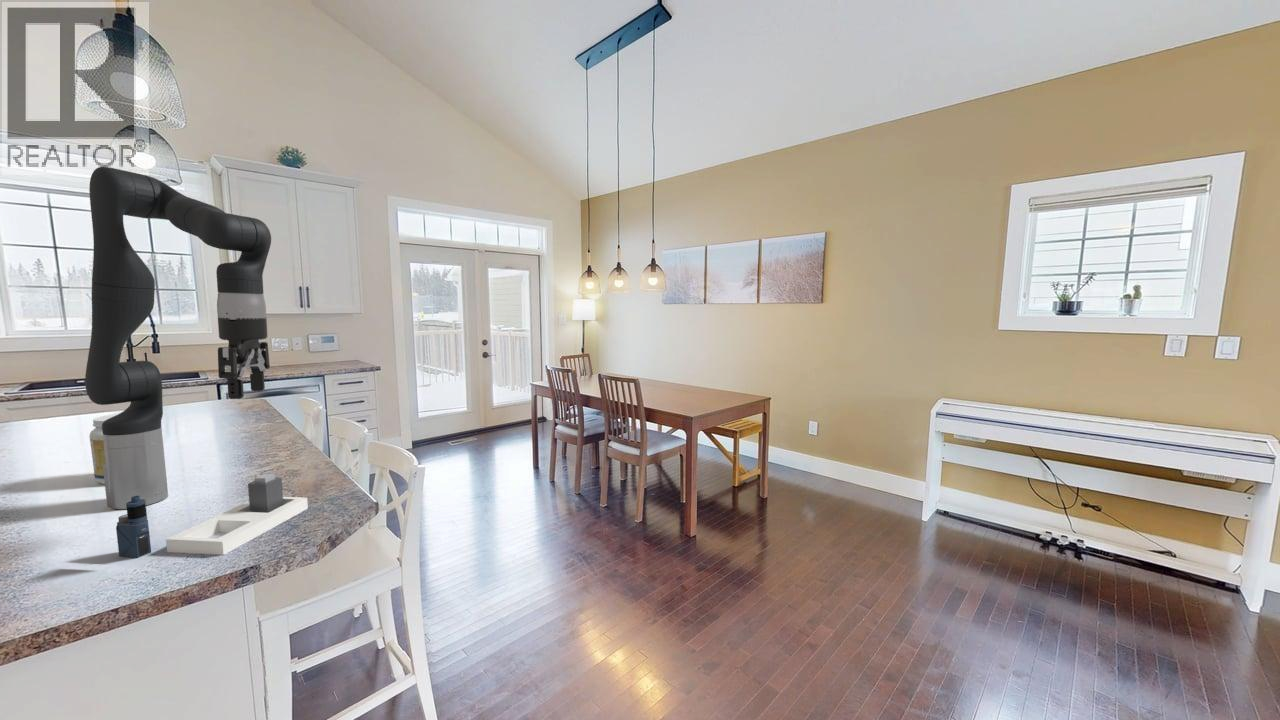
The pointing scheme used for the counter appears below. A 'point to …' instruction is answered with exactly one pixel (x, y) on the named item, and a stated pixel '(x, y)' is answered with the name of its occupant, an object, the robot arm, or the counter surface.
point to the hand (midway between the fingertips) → (247, 394)
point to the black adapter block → (265, 493)
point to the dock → (233, 528)
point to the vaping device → (134, 530)
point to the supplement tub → (98, 447)
